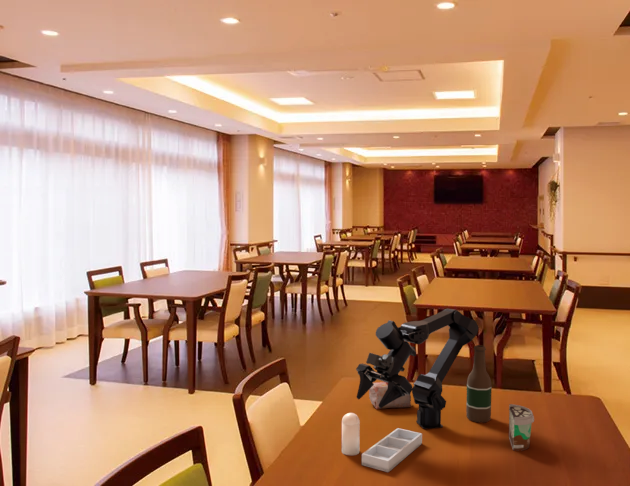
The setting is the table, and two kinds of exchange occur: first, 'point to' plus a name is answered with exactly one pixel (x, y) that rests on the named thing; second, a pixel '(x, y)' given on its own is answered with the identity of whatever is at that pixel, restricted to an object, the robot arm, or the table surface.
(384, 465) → the white compartment tray
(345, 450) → the cream tall rounded piece
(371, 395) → the food item
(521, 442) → the food container
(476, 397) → the beer bottle
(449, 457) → the table surface
